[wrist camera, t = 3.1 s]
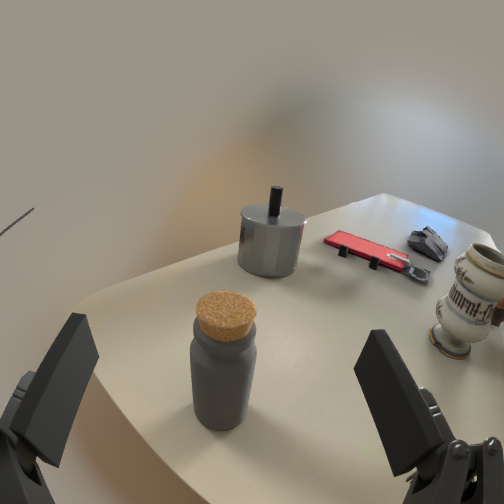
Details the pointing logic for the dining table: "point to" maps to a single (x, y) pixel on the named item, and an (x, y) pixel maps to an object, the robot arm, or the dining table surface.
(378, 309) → the dining table surface
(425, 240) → the dark slate chunk
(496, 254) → the apothecary jar
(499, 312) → the pottery mug
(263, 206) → the pot lid
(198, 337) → the bottle
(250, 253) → the pot
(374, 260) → the red board with handle
